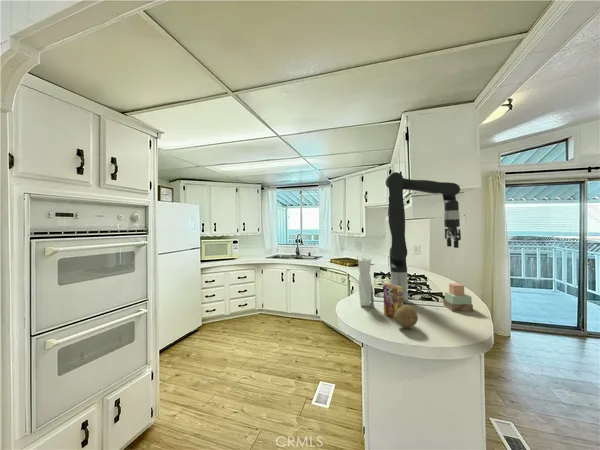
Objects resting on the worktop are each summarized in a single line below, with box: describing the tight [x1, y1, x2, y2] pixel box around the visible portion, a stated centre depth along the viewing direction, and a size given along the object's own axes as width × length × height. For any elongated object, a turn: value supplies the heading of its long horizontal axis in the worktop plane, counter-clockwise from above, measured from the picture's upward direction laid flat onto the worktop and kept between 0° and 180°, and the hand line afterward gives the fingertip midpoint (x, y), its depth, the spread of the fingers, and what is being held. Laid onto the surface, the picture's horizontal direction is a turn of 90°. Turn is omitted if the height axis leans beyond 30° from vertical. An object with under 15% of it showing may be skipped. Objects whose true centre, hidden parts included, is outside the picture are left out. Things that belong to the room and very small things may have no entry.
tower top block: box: [444, 291, 473, 305], centre depth 134 cm, size 9×9×4 cm
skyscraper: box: [356, 255, 375, 309], centre depth 143 cm, size 8×8×28 cm
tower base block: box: [442, 298, 474, 313], centre depth 134 cm, size 10×10×4 cm
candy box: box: [383, 283, 404, 319], centre depth 125 cm, size 9×4×15 cm, turn 26°
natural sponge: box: [394, 304, 419, 330], centre depth 110 cm, size 9×9×10 cm
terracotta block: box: [448, 282, 465, 295], centre depth 135 cm, size 5×5×5 cm
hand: (452, 247), depth 145 cm, fingers open, 8 cm apart
